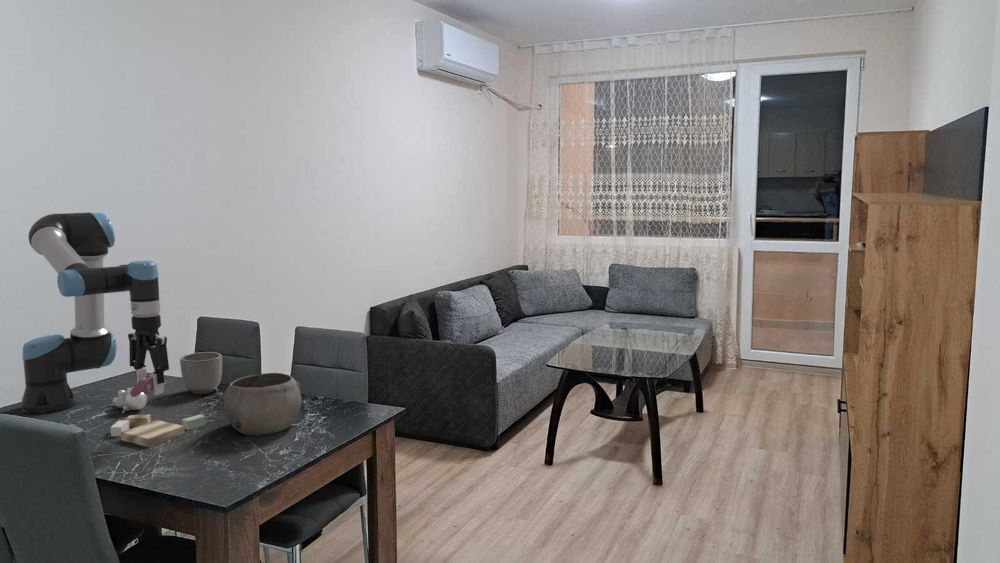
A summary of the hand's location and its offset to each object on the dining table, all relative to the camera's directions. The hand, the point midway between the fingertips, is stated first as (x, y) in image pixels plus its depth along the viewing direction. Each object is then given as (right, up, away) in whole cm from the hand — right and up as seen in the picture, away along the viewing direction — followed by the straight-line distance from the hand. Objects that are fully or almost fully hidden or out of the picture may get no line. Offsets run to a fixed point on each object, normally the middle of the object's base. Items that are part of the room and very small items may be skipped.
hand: (150, 392), depth 207 cm
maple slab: (0, -14, +2) cm, 14 cm away
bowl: (+29, -13, +12) cm, 34 cm away
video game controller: (0, 0, 0) cm, 1 cm away
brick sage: (+8, -13, +11) cm, 19 cm away
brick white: (-12, -13, +5) cm, 19 cm away
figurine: (-21, -10, +28) cm, 36 cm away
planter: (-4, -7, +47) cm, 48 cm away
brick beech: (-10, -12, +12) cm, 20 cm away
